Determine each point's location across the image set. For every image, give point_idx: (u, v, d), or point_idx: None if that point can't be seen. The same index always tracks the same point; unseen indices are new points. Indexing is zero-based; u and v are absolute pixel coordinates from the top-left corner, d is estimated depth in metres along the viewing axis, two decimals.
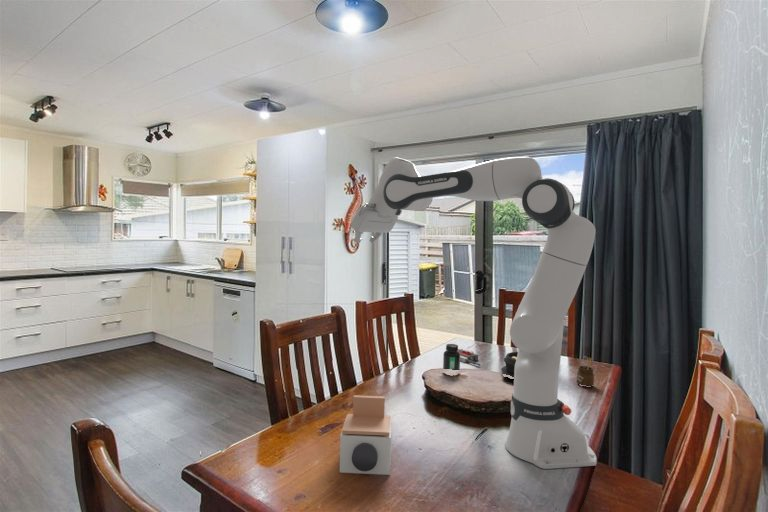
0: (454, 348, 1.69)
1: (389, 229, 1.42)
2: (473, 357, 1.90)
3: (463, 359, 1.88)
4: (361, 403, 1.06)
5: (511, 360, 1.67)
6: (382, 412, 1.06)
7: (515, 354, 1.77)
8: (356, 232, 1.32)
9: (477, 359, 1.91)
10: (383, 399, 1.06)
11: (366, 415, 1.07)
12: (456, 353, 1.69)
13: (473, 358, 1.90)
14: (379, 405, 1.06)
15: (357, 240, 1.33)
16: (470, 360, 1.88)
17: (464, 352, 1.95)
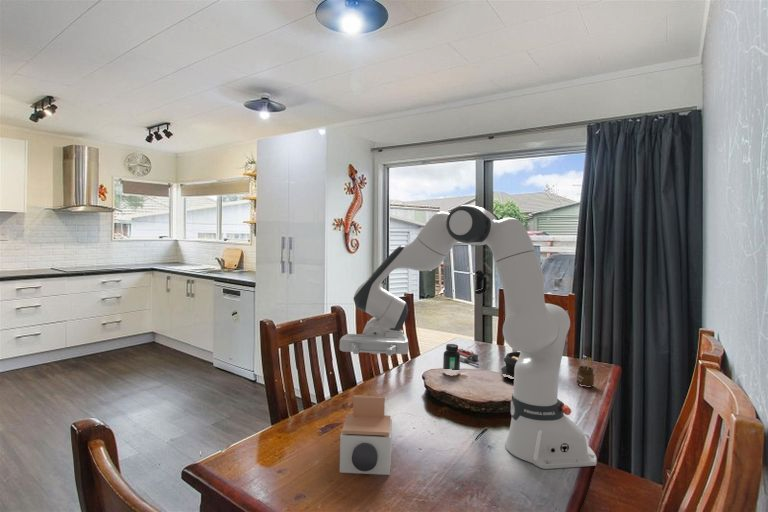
0: (454, 348, 1.69)
1: (402, 340, 1.21)
2: (473, 357, 1.90)
3: (462, 359, 1.89)
4: (361, 403, 1.06)
5: (511, 360, 1.67)
6: (382, 412, 1.06)
7: (515, 354, 1.77)
8: (351, 349, 1.19)
9: (477, 359, 1.91)
10: (383, 399, 1.06)
11: (366, 415, 1.07)
12: (456, 353, 1.69)
13: (473, 358, 1.90)
14: (379, 405, 1.06)
15: (353, 348, 1.17)
16: (469, 360, 1.89)
17: (464, 352, 1.95)
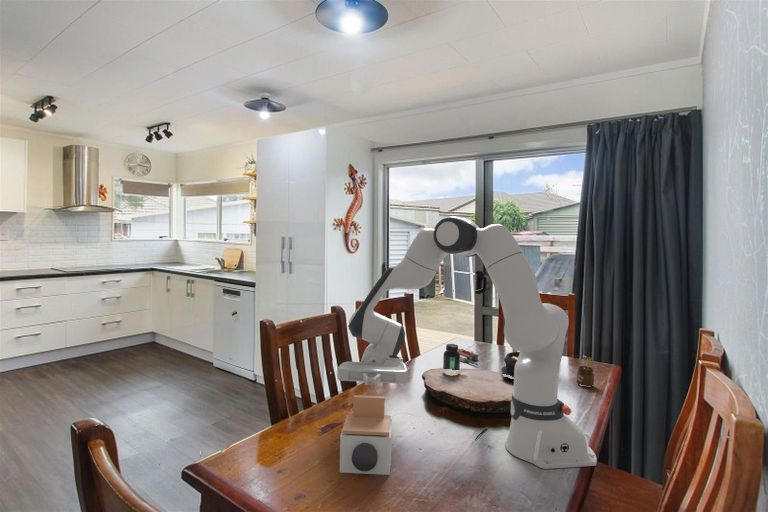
0: (454, 348, 1.69)
1: (401, 369, 1.18)
2: (472, 357, 1.90)
3: (462, 358, 1.89)
4: (361, 403, 1.06)
5: (511, 360, 1.67)
6: (382, 412, 1.06)
7: (515, 354, 1.77)
8: (363, 379, 1.16)
9: (477, 359, 1.91)
10: (383, 399, 1.06)
11: (366, 415, 1.07)
12: (456, 353, 1.69)
13: (472, 358, 1.90)
14: (379, 405, 1.06)
15: (365, 379, 1.14)
16: (469, 360, 1.89)
17: (464, 352, 1.95)
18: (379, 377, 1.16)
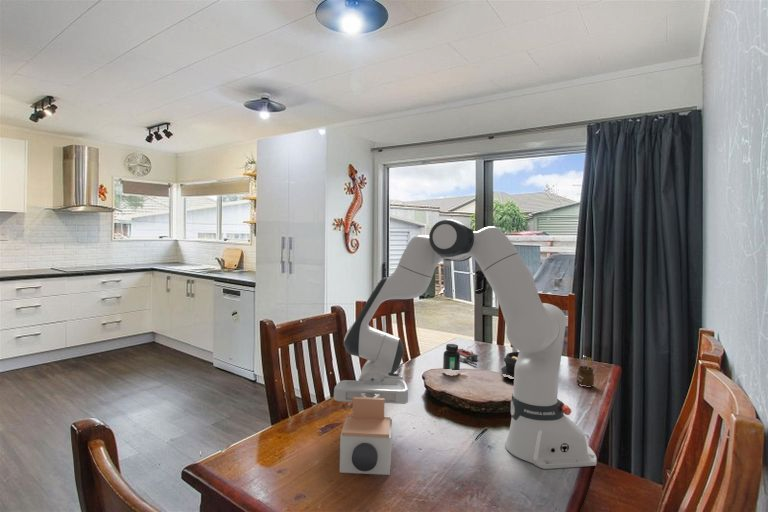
0: (454, 348, 1.69)
1: (401, 389, 1.12)
2: (472, 357, 1.90)
3: (461, 358, 1.89)
4: (361, 405, 1.05)
5: (511, 360, 1.67)
6: (382, 414, 1.05)
7: (515, 354, 1.77)
8: None
9: (476, 359, 1.91)
10: (383, 401, 1.05)
11: (366, 417, 1.05)
12: (456, 353, 1.69)
13: (472, 358, 1.90)
14: (379, 407, 1.05)
15: None
16: (468, 360, 1.89)
17: (464, 352, 1.95)
18: (378, 397, 1.09)
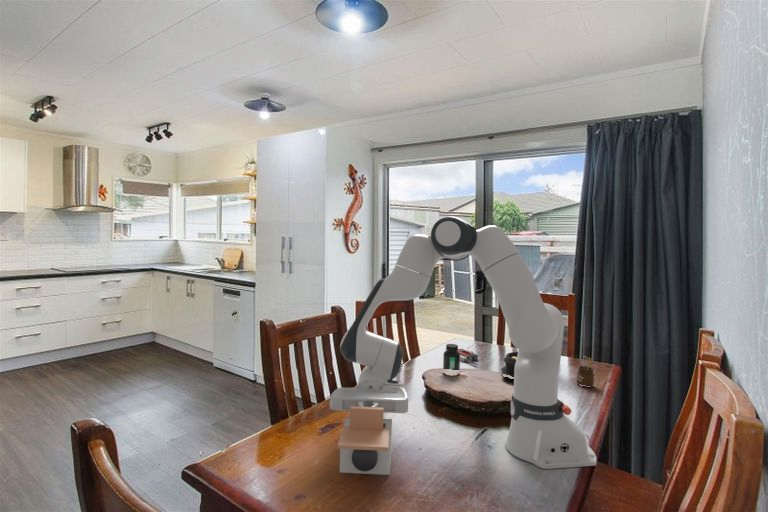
0: (454, 348, 1.69)
1: (401, 397, 1.06)
2: (472, 357, 1.91)
3: (462, 358, 1.89)
4: (358, 415, 1.00)
5: (511, 360, 1.67)
6: (381, 424, 0.99)
7: (515, 354, 1.77)
8: None
9: (476, 359, 1.91)
10: (382, 410, 0.99)
11: (363, 428, 1.00)
12: (456, 353, 1.70)
13: (472, 358, 1.91)
14: (377, 417, 0.99)
15: None
16: (469, 360, 1.89)
17: (464, 352, 1.95)
18: (377, 406, 1.04)
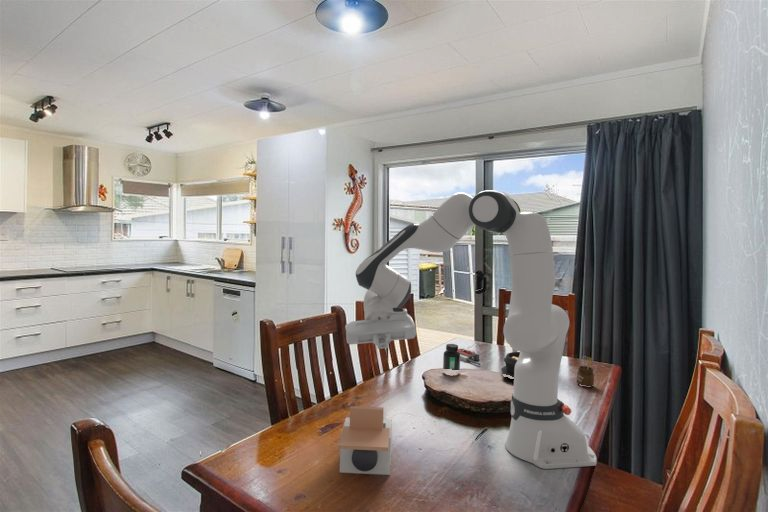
0: (454, 348, 1.69)
1: (409, 325, 1.20)
2: (474, 356, 1.91)
3: (464, 358, 1.90)
4: (358, 415, 0.99)
5: (511, 360, 1.67)
6: (381, 424, 0.99)
7: (515, 354, 1.77)
8: (373, 342, 1.17)
9: (478, 359, 1.92)
10: (382, 410, 0.99)
11: (363, 428, 1.00)
12: (456, 353, 1.70)
13: (474, 357, 1.91)
14: (377, 417, 0.99)
15: (377, 343, 1.15)
16: (471, 359, 1.89)
17: (465, 351, 1.96)
18: (389, 338, 1.17)
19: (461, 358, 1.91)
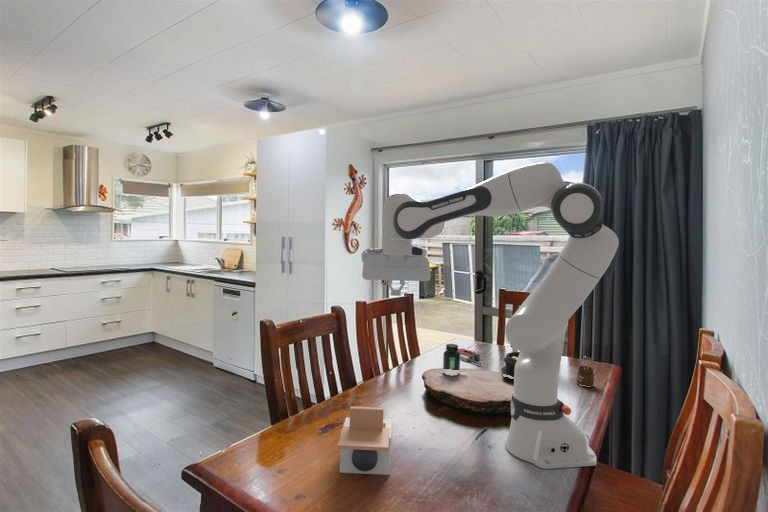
0: (454, 348, 1.69)
1: (424, 276, 1.21)
2: (475, 356, 1.91)
3: (465, 358, 1.90)
4: (358, 415, 0.99)
5: (511, 360, 1.67)
6: (381, 424, 0.99)
7: (515, 354, 1.77)
8: None
9: (479, 358, 1.92)
10: (382, 410, 0.99)
11: (363, 428, 1.00)
12: (456, 353, 1.70)
13: (475, 357, 1.91)
14: (377, 417, 0.99)
15: (391, 292, 1.23)
16: (472, 359, 1.90)
17: (466, 351, 1.96)
18: (403, 285, 1.23)
19: (462, 358, 1.91)
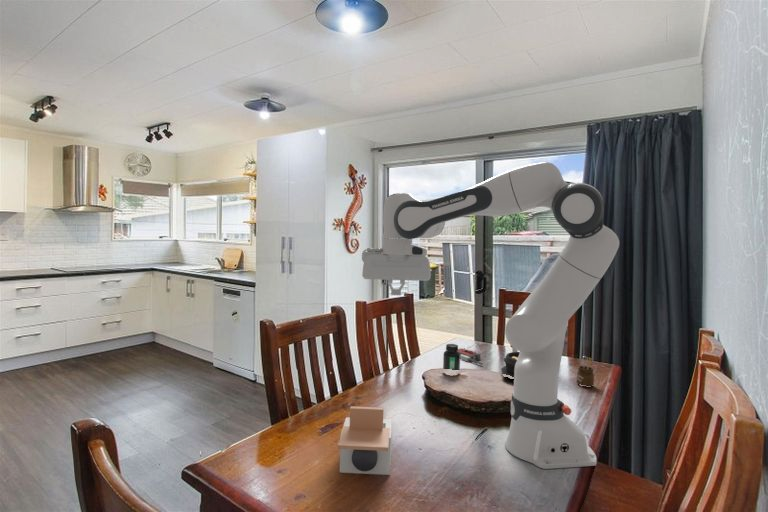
0: (454, 348, 1.69)
1: (425, 275, 1.21)
2: (475, 356, 1.92)
3: (466, 358, 1.90)
4: (358, 415, 0.99)
5: (511, 360, 1.67)
6: (381, 424, 0.99)
7: (515, 354, 1.77)
8: None
9: (479, 358, 1.92)
10: (382, 410, 0.99)
11: (363, 428, 1.00)
12: (456, 353, 1.70)
13: (475, 357, 1.92)
14: (377, 417, 0.99)
15: (391, 291, 1.23)
16: (472, 359, 1.90)
17: (466, 351, 1.96)
18: (403, 285, 1.23)
19: (463, 358, 1.91)
